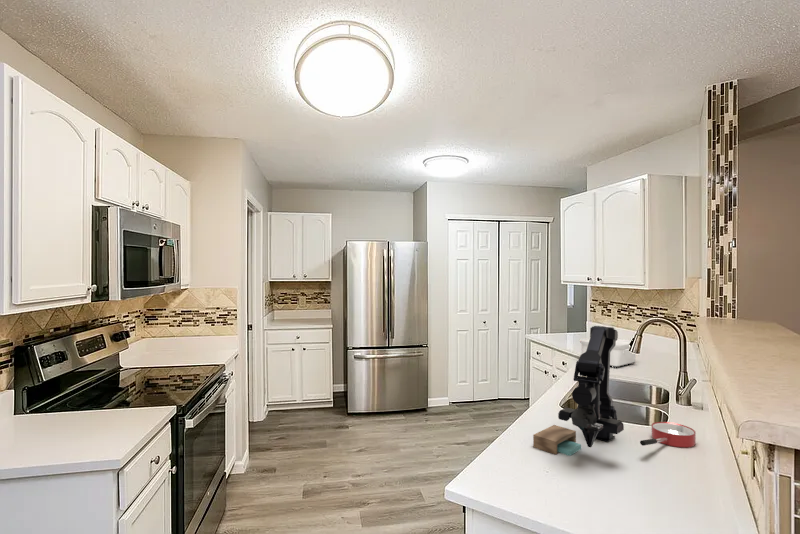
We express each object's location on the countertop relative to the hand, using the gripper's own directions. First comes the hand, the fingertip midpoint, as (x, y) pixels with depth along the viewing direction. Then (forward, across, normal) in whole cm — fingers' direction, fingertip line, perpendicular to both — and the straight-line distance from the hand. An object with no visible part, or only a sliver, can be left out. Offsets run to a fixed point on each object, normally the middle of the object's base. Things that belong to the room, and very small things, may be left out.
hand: (589, 446), depth 137 cm
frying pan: (+3, +14, +26) cm, 29 cm away
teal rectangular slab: (+4, -10, 0) cm, 10 cm away
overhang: (+3, -12, 0) cm, 12 cm away
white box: (+4, -55, +151) cm, 161 cm away
